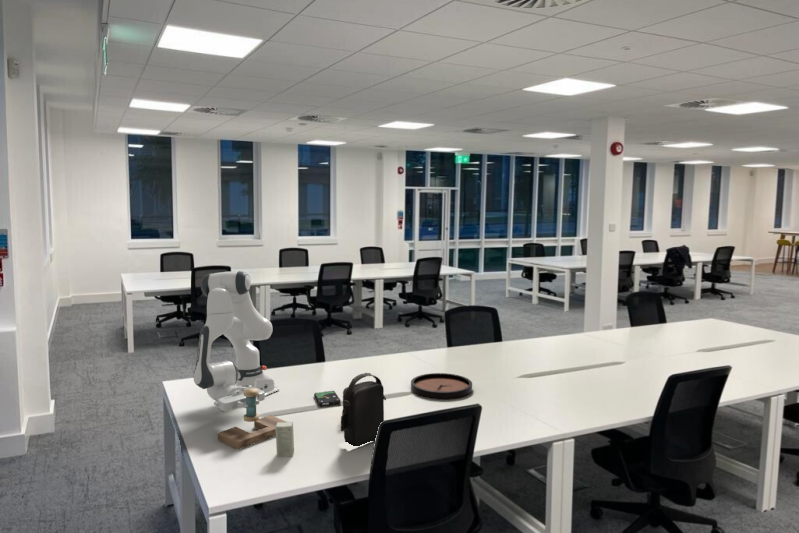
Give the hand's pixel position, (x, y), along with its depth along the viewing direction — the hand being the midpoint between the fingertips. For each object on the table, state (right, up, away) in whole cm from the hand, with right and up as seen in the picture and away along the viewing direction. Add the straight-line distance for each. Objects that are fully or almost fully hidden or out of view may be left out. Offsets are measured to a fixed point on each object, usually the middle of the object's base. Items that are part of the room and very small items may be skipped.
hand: (252, 404), depth 242 cm
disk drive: (+26, -9, +42) cm, 50 cm away
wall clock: (+82, -7, +60) cm, 102 cm away
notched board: (+1, -13, +1) cm, 13 cm away
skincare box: (+17, -15, -17) cm, 28 cm away
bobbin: (-1, -6, +1) cm, 7 cm away
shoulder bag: (+46, -14, -4) cm, 48 cm away
